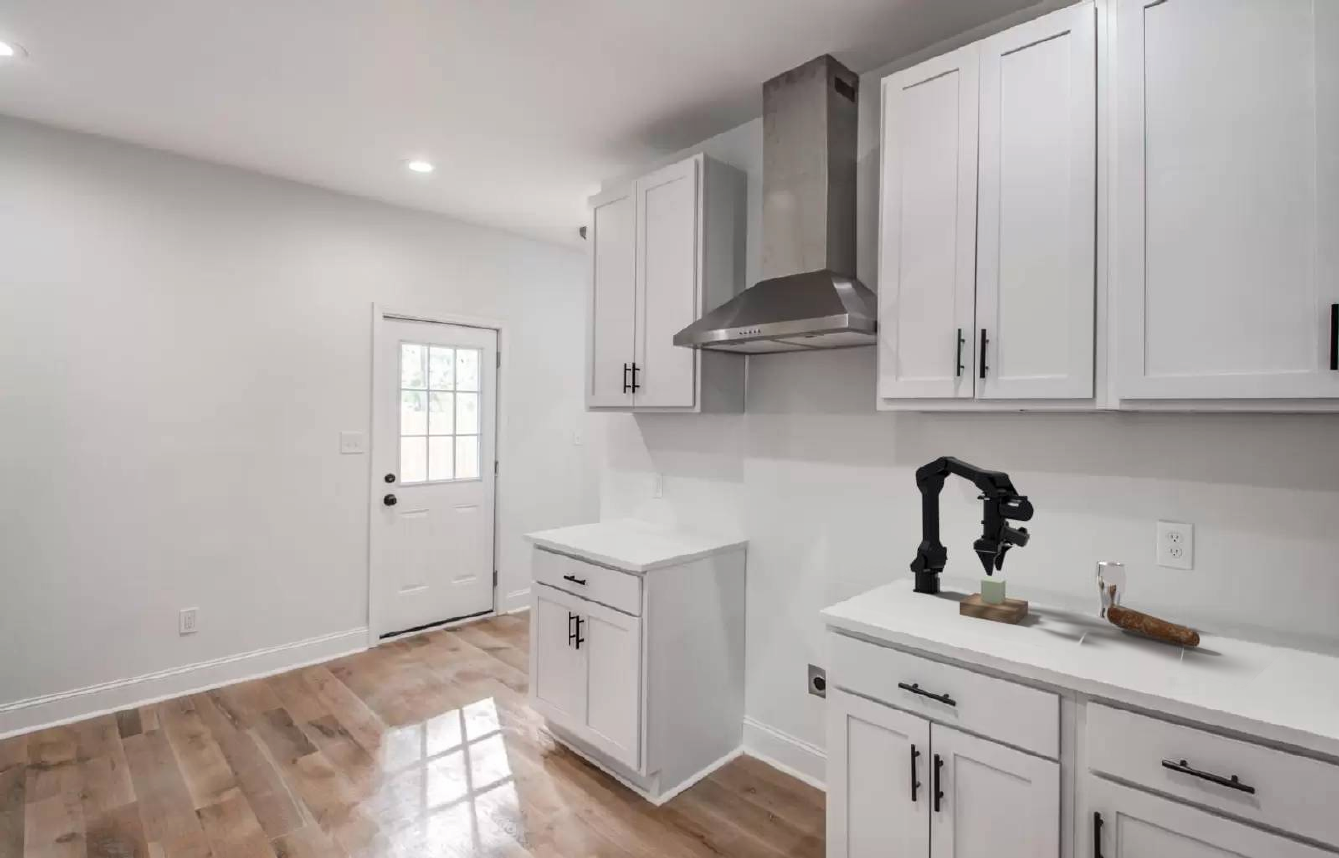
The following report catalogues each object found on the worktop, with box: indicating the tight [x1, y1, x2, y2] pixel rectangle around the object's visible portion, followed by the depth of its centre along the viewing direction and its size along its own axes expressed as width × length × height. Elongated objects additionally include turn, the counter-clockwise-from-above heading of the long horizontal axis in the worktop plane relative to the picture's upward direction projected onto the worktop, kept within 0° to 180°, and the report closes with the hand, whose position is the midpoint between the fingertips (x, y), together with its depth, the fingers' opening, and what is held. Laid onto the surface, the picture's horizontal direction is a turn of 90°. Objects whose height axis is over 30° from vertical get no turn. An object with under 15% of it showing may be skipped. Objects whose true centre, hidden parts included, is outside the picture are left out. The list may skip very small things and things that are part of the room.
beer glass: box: [1094, 561, 1127, 621], centre depth 178 cm, size 7×7×15 cm
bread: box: [1107, 604, 1201, 647], centre depth 160 cm, size 6×19×6 cm, turn 33°
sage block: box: [980, 576, 1006, 605], centre depth 181 cm, size 5×5×6 cm
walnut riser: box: [959, 592, 1029, 625], centre depth 181 cm, size 14×14×4 cm
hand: (994, 573), depth 181 cm, fingers open, 9 cm apart
